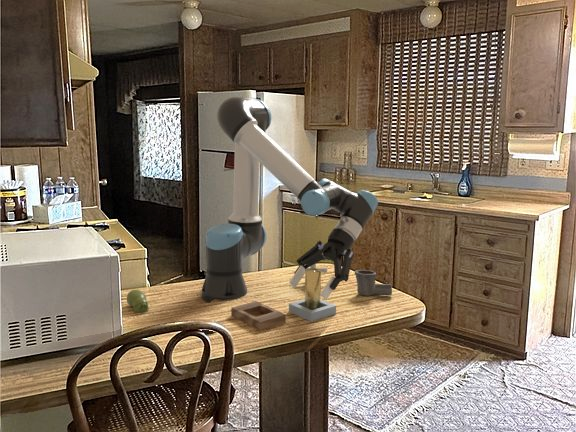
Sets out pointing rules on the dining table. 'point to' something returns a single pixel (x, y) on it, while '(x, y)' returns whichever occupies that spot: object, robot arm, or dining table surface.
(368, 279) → the pipe
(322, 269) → the pipe connector
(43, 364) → the dining table surface
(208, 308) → the dining table surface
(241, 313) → the brown wooden holder
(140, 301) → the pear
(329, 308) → the blue-grey square socket
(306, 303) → the axle
